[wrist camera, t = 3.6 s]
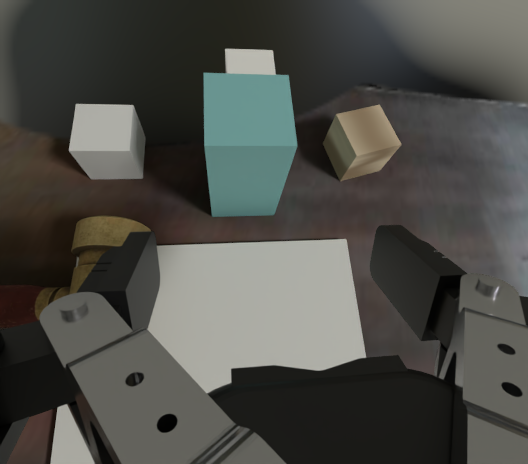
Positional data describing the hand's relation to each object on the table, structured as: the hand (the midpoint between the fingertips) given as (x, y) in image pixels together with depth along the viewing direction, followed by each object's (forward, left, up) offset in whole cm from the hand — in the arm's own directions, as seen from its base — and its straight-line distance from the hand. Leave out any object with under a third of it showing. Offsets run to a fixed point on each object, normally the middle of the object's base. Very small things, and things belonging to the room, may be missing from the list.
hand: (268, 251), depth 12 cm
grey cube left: (-10, +12, -13) cm, 21 cm away
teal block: (0, +9, -13) cm, 16 cm away
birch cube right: (+10, +12, -13) cm, 21 cm away
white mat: (-2, -3, -13) cm, 13 cm away
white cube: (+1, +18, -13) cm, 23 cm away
